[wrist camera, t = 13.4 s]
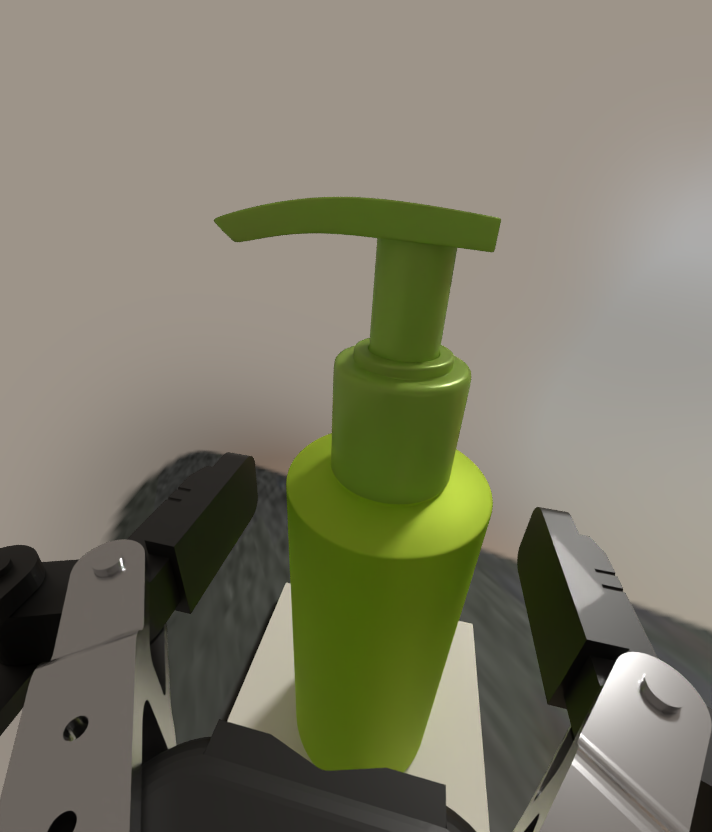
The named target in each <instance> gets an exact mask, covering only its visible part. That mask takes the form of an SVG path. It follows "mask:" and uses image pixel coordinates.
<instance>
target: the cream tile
mask: <svg viewBox="0 0 712 832" xmlns="http://www.w3.org/2000/svg"><path fill="white" fill-rule="evenodd" d="M227 722H231V723H234V724H238V725H241V726H245V727H248V728H251V729H255V730H258V731H262V732H265V733H269V734H272V735H273V736H274V737H276V738H277V739H279V740H280V741H281V742H283V743H284V744H286V745H287V746H288V747H290V748H291V749H293V750H294V751H295V752H297V753H298V754H300V755H301V756H302V757H304V758H305V759H307V760H308V761H309V762H311V763H312V764H314V763H313V762H312V761H311V759H310V758H309V756H308V754H307V753H306V751H305V749H304V746H303V744H302V741H301V738H300V735H299V731H298V726H297V717H296V695H295V673H294V650H293V627H292V604H291V584H290V583H286V584H285V586H284V589H283V591H282V593H281V596H280V598H279V601H278V603H277V605H276V608H275V610H274V612H273V615H272V617H271V619H270V622H269V624H268V626H267V629H266V631H265V634H264V636H263V638H262V641H261V643H260V645H259V648H258V650H257V652H256V655H255V657H254V659H253V662H252V664H251V666H250V669H249V671H248V674H247V676H246V678H245V681H244V683H243V685H242V688H241V690H240V692H239V695H238V697H237V699H236V702H235V704H234V706H233V709H232V711H231V714H230V716H229V718H228V721H227ZM403 773H407V774H410V775H414V776H417V777H421V778H424V779H427V780H431V781H434V782H438V783H441V784H445V785H446V806H448V807H449V808H451V809H452V810H453V811H455V812H456V813H457V814H458V815H460V816H461V817H462V818H463V819H464V820H465V821H466V822H468V823H469V824H470V825H471V826H472V827H473V829H474V830H475V831H476V832H490V831H489V819H488V806H487V794H486V782H485V770H484V757H483V745H482V733H481V721H480V709H479V696H478V684H477V672H476V660H475V647H474V635H473V624H470V623H465V622H461V621H458V625H457V628H456V631H455V634H454V638H453V641H452V644H451V647H450V651H449V654H448V657H447V661H446V664H445V667H444V670H443V674H442V677H441V680H440V683H439V687H438V690H437V693H436V696H435V700H434V703H433V706H432V709H431V713H430V716H429V719H428V722H427V726H426V729H425V732H424V736H423V739H422V742H421V745H420V748H419V750H418V752H417V754H416V756H415V758H414V760H413V761H412V763H411V764H410V766H409V767H408V768H407V769H406V770H405V771H404V772H403Z"/></svg>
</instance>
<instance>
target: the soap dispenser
mask: <svg viewBox="0 0 712 832" xmlns="http://www.w3.org/2000/svg"><path fill="white" fill-rule="evenodd" d="M214 222H215V223H216V224H217V225H218V226H219V227H220V228H221V229H222V231H223V232H224V233H225V234H227V235H228V236H229V237H230V238H231V239H232V240H233V241H234V242H243V241H250V240H255V239H261V238H266V237H273V236H280V235H289V234H302V233H303V234H304V233H328V234H329V233H330V234H344V235H356V236H364V237H373V238H377V251H376V265H375V278H374V291H373V304H372V318H371V330H370V338H367V339H364V340H362V341H360V342H358V343H357V344H356V345H355V346H352V347H350V348H347V349H345V350H343V351H342V352H340V353H339V354H338V356H337V357H336V359H335V363H334V377H333V411H332V433H331V434H328V435H326V436H323V437H321V438H319V439H317V440H315V441H314V442H312V443H311V444H309V445H308V446H307V447H305V448H304V449H303V450H302V451H301V452H300V453H299V454H298V455H297V456H296V458H295V459H294V460H293V462H292V464H291V466H290V468H289V471H288V475H287V481H286V490H287V513H288V536H289V558H290V581H291V604H292V627H293V650H294V673H295V695H296V717H297V726H298V731H299V735H300V738H301V741H302V744H303V746H304V749H305V751H306V753H307V754H308V756H309V758H310V759H311V761H312V762H313V763H314V765H315V766H317V767H318V768H320V769H322V770H327V771H333V770H351V769H369V768H389V769H393V770H396V771H400V772H404V771H405V770H406V769H407V768H408V767H409V766H410V764H411V763H412V761H413V760H414V758H415V756H416V754H417V752H418V750H419V748H420V745H421V742H422V739H423V736H424V732H425V729H426V726H427V722H428V719H429V716H430V713H431V709H432V706H433V703H434V700H435V696H436V693H437V690H438V687H439V683H440V680H441V677H442V674H443V670H444V667H445V664H446V661H447V657H448V654H449V651H450V647H451V644H452V641H453V638H454V634H455V631H456V628H457V625H458V621H459V618H460V615H461V612H462V608H463V605H464V602H465V599H466V595H467V592H468V589H469V586H470V582H471V579H472V576H473V572H474V569H475V566H476V563H477V559H478V556H479V553H480V550H481V546H482V543H483V540H484V537H485V533H486V530H487V527H488V524H489V520H490V517H491V513H492V507H493V505H492V504H493V502H492V501H493V500H492V493H491V490H490V487H489V484H488V482H487V480H486V478H485V477H484V475H483V474H482V472H481V471H480V470H479V469H478V467H477V466H476V465H475V464H474V463H473V462H472V461H471V460H470V459H469V458H468V457H466V456H465V455H464V454H463V453H461V452H460V451H458V450H457V449H456V447H457V442H458V438H459V433H460V429H461V424H462V419H463V415H464V410H465V406H466V401H467V397H468V392H469V388H470V382H471V371H470V369H469V367H468V366H467V365H466V363H465V362H463V361H462V360H461V359H459V358H457V357H456V356H454V355H453V353H452V352H451V351H450V350H449V349H448V348H446V347H444V346H442V345H441V340H442V334H443V329H444V323H445V317H446V311H447V305H448V299H449V293H450V287H451V282H452V275H453V270H454V264H455V258H456V252H457V248H464V249H472V250H480V251H486V252H494V250H495V246H496V241H497V236H498V232H499V227H500V223H501V219H500V218H497V217H492V216H486V215H482V214H476V213H471V212H464V211H460V210H454V209H448V208H442V207H436V206H430V205H423V204H417V203H410V202H403V201H394V200H386V199H375V198H361V197H318V198H305V199H297V200H288V201H282V202H275V203H270V204H265V205H260V206H256V207H252V208H248V209H243V210H240V211H236V212H232V213H229V214H226V215H223V216H220V217H218V218H216V219H214Z"/></svg>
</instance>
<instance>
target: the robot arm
mask: <svg viewBox="0 0 712 832" xmlns="http://www.w3.org/2000/svg"><path fill="white" fill-rule="evenodd" d="M257 501H258V493H257V481H256V469H255V461H254V458H253V457H252V456H247V455H241V454H235V453H229V452H228V453H225V454H224V455H223V456H222V457H221V458H220V459H219V460H218V462H217V463H216V464H215V465H214V466H213V467H211V466H206V467H204V468H202V469H200V470H199V471H197V472H195V473H193V474H191V475H190V476H189V477H188V478H187V479H186V480H185V481H184V482H183V483H182V484H181V485H180V486H179V487H178V490H175V491H174V492H173V493H172V494H171V495H170V496H169V498H168V500H165V501H164V502H163V503H162V504H161V505H160V506H159V507H158V508H157V509H156V510H155V511H154V512H153V513H152V514H151V515H150V516H149V517H148V518H147V519H146V520H145V521H144V522H143V523H142V524H141V525H140V526H139V527H138V528H137V529H136V531H135V532H134V533H133V534H132V535H131V536H130V537H129V538H127V539H126V540H124V539H123V540H115V541H111V542H107V543H104V544H102V545H100V546H98V547H96V548H94V549H92V550H91V551H89V552H87V554H85V555H84V556H82V557H81V558H80V559H79V560H66V561H52V562H41V560H40V558H39V556H38V554H37V552H36V551H35V549H34V548H31V547H29V546H25V545H14V546H7V547H3V548H0V736H1V734H2V733H3V732H4V731H5V729H6V728H7V727H8V726H9V724H10V723H11V722H12V721H13V719H14V718H15V717H16V716H17V714H18V713H19V712H20V711H21V709H22V708H23V710H22V715H21V718H20V723H19V726H18V730H17V734H16V738H15V743H14V746H13V750H12V754H11V758H10V762H9V766H8V770H7V774H6V778H5V783H4V787H3V790H2V794H1V798H0V832H476V831H475V830H474V829H473V827H472V826H471V825H470V824H469V823H468V822H466V821H465V820H464V819H463V818H462V817H461V816H460V815H458V814H457V813H456V812H455V811H453V810H452V809H451V808H449V807H448V806H446V785H445V784H441V783H438V782H434V781H431V780H427V779H424V778H421V777H417V776H414V775H410V774H407V773H403V772H400V771H396V770H393V769H389V768H369V769H351V770H333V771H327V770H322V769H320V768H318V767H317V766H315V765H314V764H312V763H311V762H309V761H308V760H307V759H305V758H304V757H302V756H301V755H300V754H298V753H297V752H295V751H294V750H293V749H291V748H290V747H288V746H287V745H286V744H284V743H283V742H281V741H280V740H279V739H277V738H276V737H274V736H273V735H272V734H269V733H265V732H262V731H258V730H255V729H251V728H248V727H245V726H241V725H238V724H234V723H231V722H227V721H224V720H220V719H219V721H218V723H217V725H216V728H215V730H214V732H213V734H212V737H204V738H199V739H195V740H190V741H187V742H185V743H182V744H179V745H176V739H175V730H174V723H173V718H172V712H171V703H170V682H169V656H168V631H167V623H166V622H167V620H168V619H169V618H170V616H171V615H172V613H173V612H174V610H176V611H181V612H185V613H189V614H191V613H192V611H193V609H194V608H195V606H196V605H197V603H198V602H199V600H200V598H201V597H202V595H203V594H204V592H205V591H206V589H207V587H208V586H209V584H210V583H211V581H212V580H213V578H214V576H215V575H216V573H217V572H218V570H219V569H220V567H221V565H222V564H223V562H224V561H225V559H226V558H227V556H228V555H229V553H230V551H231V550H232V548H233V547H234V545H235V544H236V542H237V540H238V539H239V537H240V536H241V534H242V533H243V531H244V529H245V528H246V526H247V525H248V523H249V522H250V520H251V518H252V517H253V515H254V513H255V510H256V506H257ZM517 565H518V573H519V577H520V582H521V586H522V591H523V596H524V600H525V605H526V609H527V614H528V618H529V623H530V627H531V632H532V636H533V641H534V645H535V650H536V654H537V659H538V663H539V668H540V672H541V677H542V681H543V686H544V690H545V695H546V699H547V704H548V705H552V706H556V707H560V708H565V709H567V711H568V715H569V719H570V723H571V726H570V727H569V729H568V730H567V732H566V734H565V736H564V738H563V740H562V742H561V743H560V745H559V747H558V749H557V751H556V753H555V755H554V757H553V759H552V761H551V763H550V765H549V767H548V769H547V771H546V772H545V774H544V776H543V778H542V780H541V782H540V784H539V786H538V788H537V790H536V792H535V794H534V796H533V798H532V800H531V801H530V803H529V805H528V807H527V809H526V811H525V812H524V814H523V816H522V818H521V819H520V821H519V822H518V824H517V826H516V827H515V829H514V831H513V832H712V709H711V708H709V707H707V706H706V705H705V703H704V701H703V699H702V698H701V696H700V695H699V693H698V692H697V691H696V690H695V688H694V687H693V686H692V685H691V684H690V683H689V682H688V681H687V680H686V679H685V678H684V677H683V676H682V675H681V674H680V673H679V672H677V671H676V670H675V669H673V668H672V667H671V666H669V665H668V664H666V663H664V662H663V661H661V660H659V659H658V657H657V655H656V653H655V651H654V649H653V647H652V645H651V643H650V641H649V639H648V637H647V635H646V633H645V631H644V629H643V627H642V625H641V623H640V621H639V619H638V617H637V615H636V613H635V611H634V609H633V607H632V605H631V603H630V601H629V599H628V597H627V595H626V593H624V592H623V587H622V585H621V583H620V581H619V579H618V577H617V576H615V571H614V569H613V567H612V565H611V563H610V561H609V559H608V557H607V555H606V553H605V552H604V551H603V550H602V549H601V548H600V547H599V546H598V545H597V544H596V543H595V542H594V541H593V540H592V539H591V538H590V537H589V536H585V535H579V533H578V530H577V528H576V526H575V524H574V521H573V519H572V517H571V515H570V514H569V513H568V512H563V511H557V510H552V509H546V508H540V507H537V508H535V510H534V511H533V513H532V516H531V518H530V521H529V523H528V526H527V529H526V532H525V534H524V537H523V539H522V542H521V545H520V547H519V551H518V559H517Z"/></svg>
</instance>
